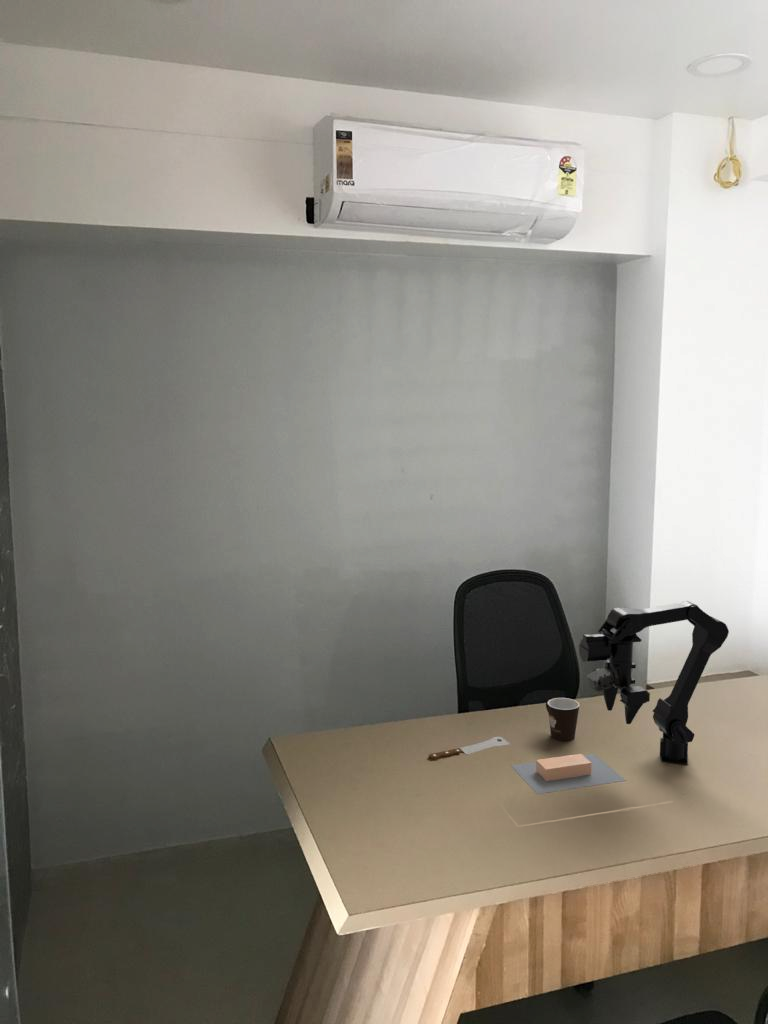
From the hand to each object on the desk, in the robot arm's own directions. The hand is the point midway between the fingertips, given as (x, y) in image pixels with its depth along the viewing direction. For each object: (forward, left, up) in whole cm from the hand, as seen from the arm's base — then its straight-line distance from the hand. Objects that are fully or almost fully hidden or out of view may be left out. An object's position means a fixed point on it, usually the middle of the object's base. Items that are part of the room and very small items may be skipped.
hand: (618, 716), depth 223 cm
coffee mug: (+16, -14, -13) cm, 25 cm away
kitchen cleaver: (+37, +4, -14) cm, 40 cm away
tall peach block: (+7, +6, -11) cm, 15 cm away
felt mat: (+12, +9, -13) cm, 20 cm away
